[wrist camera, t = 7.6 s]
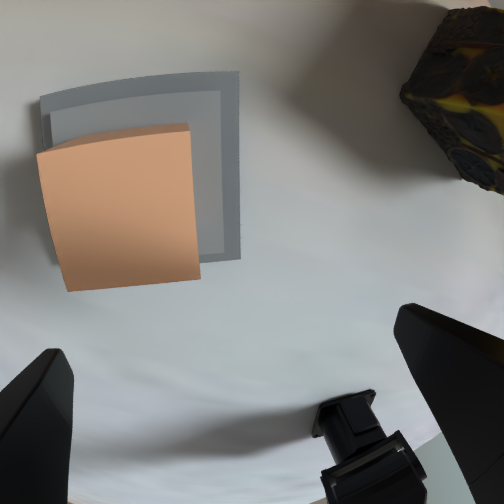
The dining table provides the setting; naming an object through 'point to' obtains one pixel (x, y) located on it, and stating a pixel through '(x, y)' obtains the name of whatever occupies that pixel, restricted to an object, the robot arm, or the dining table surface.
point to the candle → (464, 93)
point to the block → (122, 207)
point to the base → (162, 113)
